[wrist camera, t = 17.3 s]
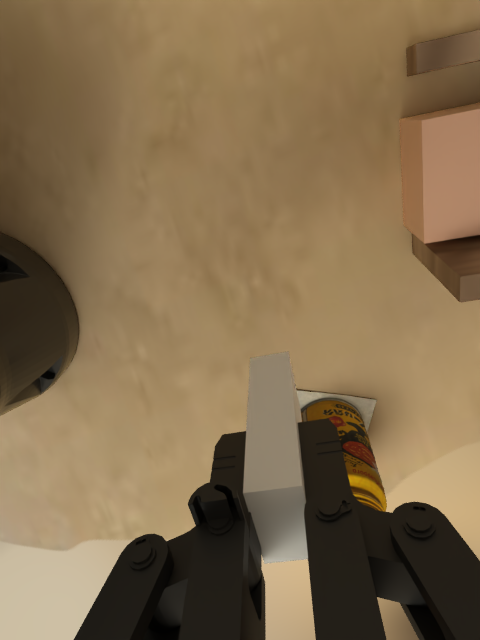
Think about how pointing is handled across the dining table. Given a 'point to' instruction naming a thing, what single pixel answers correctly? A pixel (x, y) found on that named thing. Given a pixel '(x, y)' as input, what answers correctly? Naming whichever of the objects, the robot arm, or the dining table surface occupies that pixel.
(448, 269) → the dock
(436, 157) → the pink rectangular block
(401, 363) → the dining table surface
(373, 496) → the condiment
